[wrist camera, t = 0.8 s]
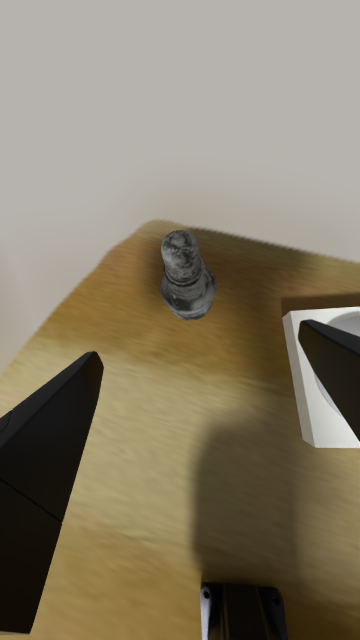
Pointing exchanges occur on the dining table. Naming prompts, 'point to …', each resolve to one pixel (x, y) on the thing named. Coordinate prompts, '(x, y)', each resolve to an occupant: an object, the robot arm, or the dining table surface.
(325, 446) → the scale
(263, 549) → the dining table surface
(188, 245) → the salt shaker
